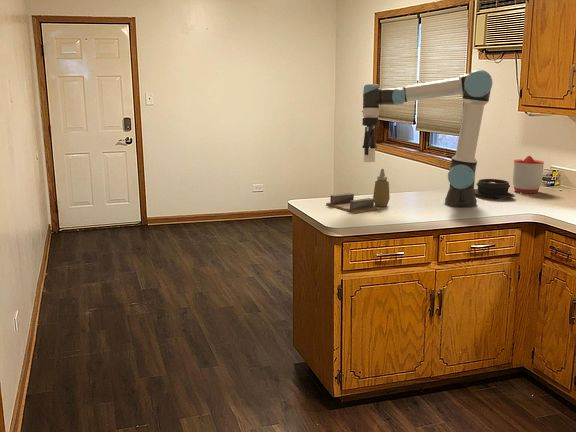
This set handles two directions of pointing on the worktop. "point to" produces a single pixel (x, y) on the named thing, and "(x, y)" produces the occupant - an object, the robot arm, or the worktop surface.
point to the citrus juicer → (527, 175)
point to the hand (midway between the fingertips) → (369, 162)
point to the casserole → (493, 188)
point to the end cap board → (347, 208)
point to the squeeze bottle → (381, 190)
